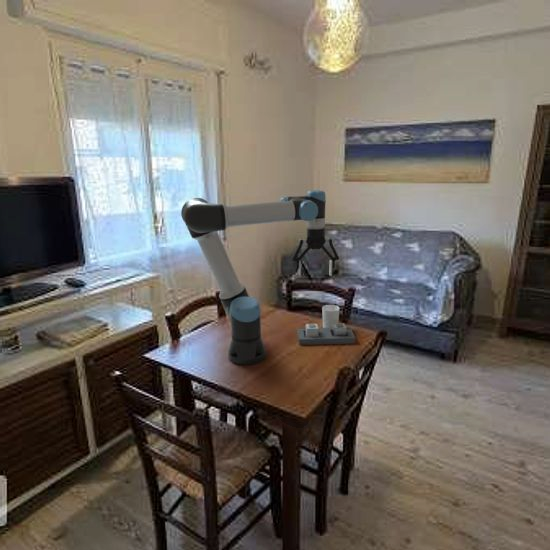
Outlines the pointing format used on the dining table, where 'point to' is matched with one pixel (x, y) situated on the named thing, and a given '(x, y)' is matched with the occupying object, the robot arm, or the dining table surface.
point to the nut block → (339, 329)
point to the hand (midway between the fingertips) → (315, 275)
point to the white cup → (330, 315)
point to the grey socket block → (323, 336)
